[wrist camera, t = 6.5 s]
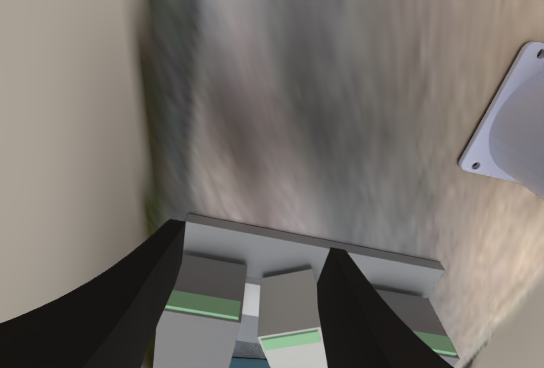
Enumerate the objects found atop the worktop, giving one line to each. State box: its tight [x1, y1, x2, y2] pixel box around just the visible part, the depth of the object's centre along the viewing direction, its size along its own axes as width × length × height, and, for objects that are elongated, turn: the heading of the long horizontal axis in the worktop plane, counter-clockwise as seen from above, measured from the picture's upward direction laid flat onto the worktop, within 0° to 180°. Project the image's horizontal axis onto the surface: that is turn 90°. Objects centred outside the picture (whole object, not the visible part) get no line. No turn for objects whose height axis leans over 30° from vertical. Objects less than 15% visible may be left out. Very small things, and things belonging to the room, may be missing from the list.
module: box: [257, 269, 328, 368], centre depth 24 cm, size 4×7×5 cm, turn 15°
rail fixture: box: [153, 214, 460, 368], centre depth 25 cm, size 20×12×7 cm, turn 77°
